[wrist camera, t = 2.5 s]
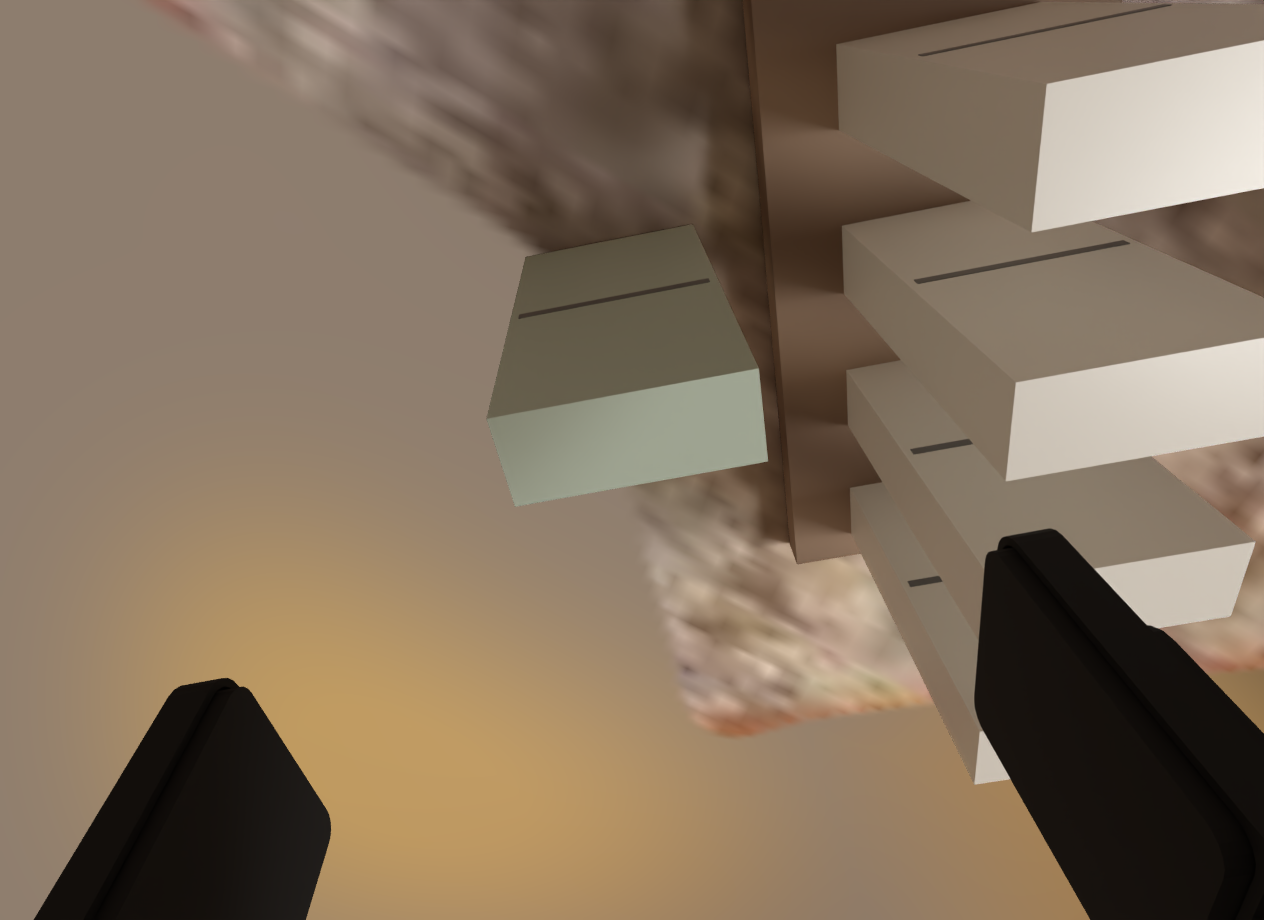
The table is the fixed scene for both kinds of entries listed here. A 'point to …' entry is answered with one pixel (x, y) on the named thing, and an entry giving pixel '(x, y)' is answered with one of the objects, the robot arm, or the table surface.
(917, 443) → the domino
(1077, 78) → the domino
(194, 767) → the robot arm
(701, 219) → the table surface
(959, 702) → the domino
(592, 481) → the pale green domino
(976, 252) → the domino
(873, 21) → the domino board
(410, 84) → the table surface
